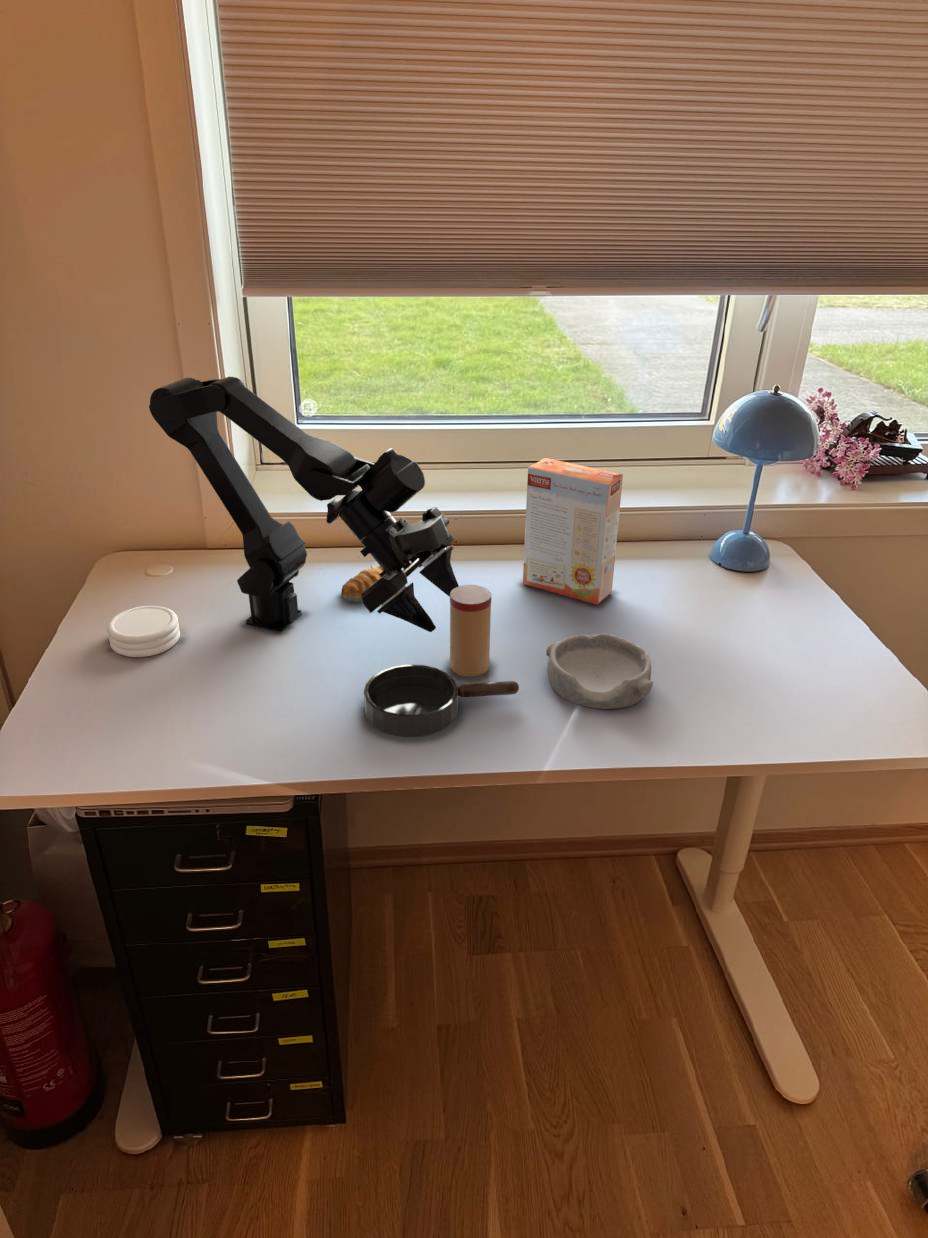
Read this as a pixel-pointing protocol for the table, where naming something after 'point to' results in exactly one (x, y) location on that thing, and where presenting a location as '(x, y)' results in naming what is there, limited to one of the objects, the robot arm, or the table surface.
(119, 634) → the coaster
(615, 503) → the cracker box
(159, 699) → the table surface
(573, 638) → the dish
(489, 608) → the cracker tube
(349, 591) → the pastry
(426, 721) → the pan
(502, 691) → the pan handle
